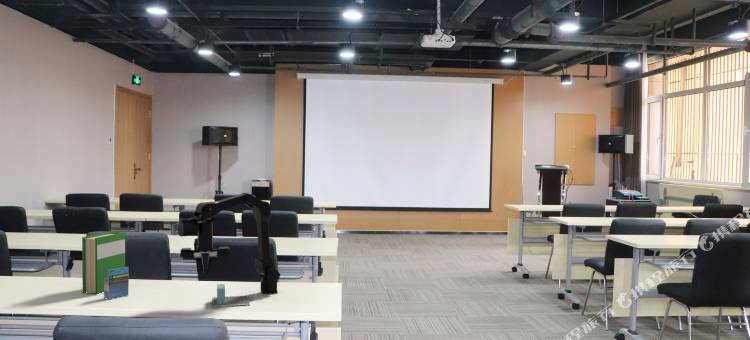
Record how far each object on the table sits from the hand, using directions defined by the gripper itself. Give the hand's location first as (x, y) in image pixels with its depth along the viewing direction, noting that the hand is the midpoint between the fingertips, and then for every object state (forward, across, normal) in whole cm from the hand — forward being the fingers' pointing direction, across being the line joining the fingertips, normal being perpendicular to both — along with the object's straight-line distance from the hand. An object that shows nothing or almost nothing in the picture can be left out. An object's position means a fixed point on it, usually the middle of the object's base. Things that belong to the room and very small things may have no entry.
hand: (205, 273), depth 236 cm
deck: (+12, -6, 0) cm, 13 cm away
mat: (+12, -10, 0) cm, 16 cm away
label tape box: (+12, +36, -18) cm, 42 cm away
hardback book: (+12, +42, -34) cm, 55 cm away
